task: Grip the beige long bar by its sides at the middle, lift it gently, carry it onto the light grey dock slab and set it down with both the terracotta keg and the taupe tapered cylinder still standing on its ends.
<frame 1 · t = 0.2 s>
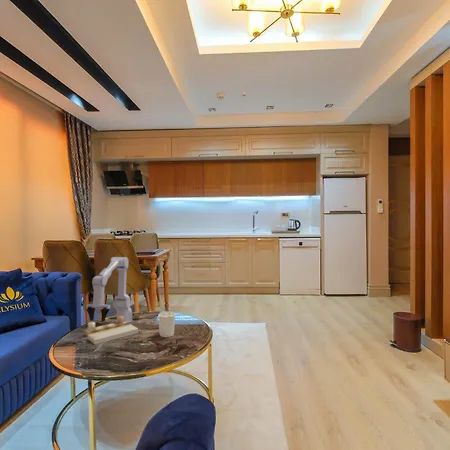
hand: (97, 320, 182), 10 cm above the table, tool pointing down, fingers open, 7 cm apart
candle holder: (166, 334, 188), on the table
taupe tapered cylinder: (91, 329, 189), point 3 cm above the table, touching beige long bar
beige long bar: (106, 331, 195), on the table, touching taupe tapered cylinder, terracotta keg
dock: (113, 335, 187), on the table
terracotta keg: (120, 322, 201), point 3 cm above the table, touching beige long bar
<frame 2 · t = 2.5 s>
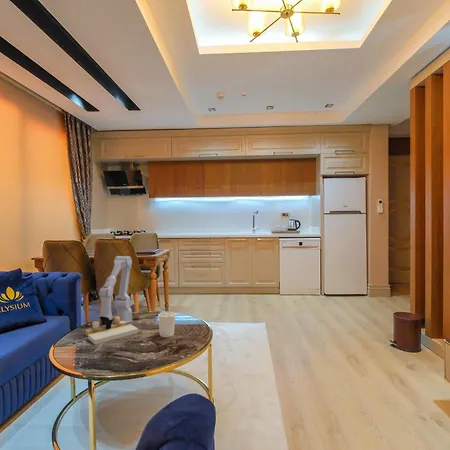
hand: (106, 328, 195), 1 cm above the table, tool pointing down, fingers closed on beige long bar, 5 cm apart
taupe tapered cylinder: (96, 328, 191), point 3 cm above the table, touching beige long bar
beige long bar: (106, 331, 195), on the table, touching taupe tapered cylinder, gripper, terracotta keg
terracotta keg: (116, 323, 199), point 3 cm above the table, touching beige long bar
everything else where it was.
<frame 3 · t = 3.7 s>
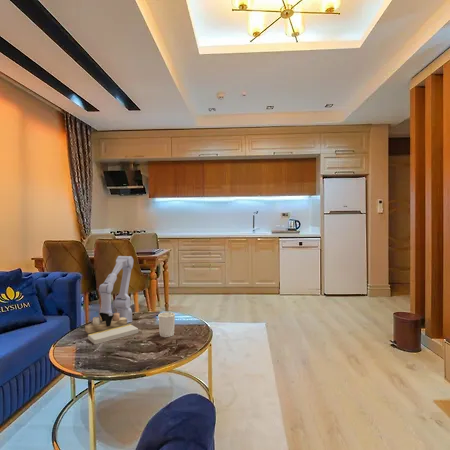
hand: (106, 324, 195), 4 cm above the table, tool pointing down, fingers closed on beige long bar, 5 cm apart
taupe tapered cylinder: (96, 324, 191), point 6 cm above the table, touching beige long bar
beige long bar: (106, 327, 195), point 2 cm above the table, touching taupe tapered cylinder, gripper, terracotta keg
terracotta keg: (116, 319, 199), point 5 cm above the table, touching beige long bar
everything else where it was.
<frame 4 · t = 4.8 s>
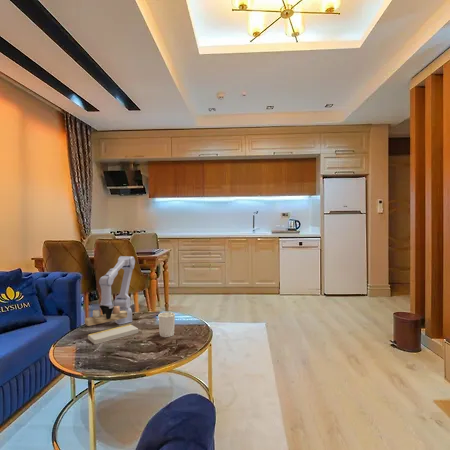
hand: (106, 317, 194), 8 cm above the table, tool pointing down, fingers closed on beige long bar, 5 cm apart
taupe tapered cylinder: (96, 317, 190), point 10 cm above the table, touching beige long bar
beige long bar: (106, 320, 194), point 7 cm above the table, touching taupe tapered cylinder, gripper, terracotta keg
terracotta keg: (116, 312, 198), point 10 cm above the table, touching beige long bar
everything else where it was.
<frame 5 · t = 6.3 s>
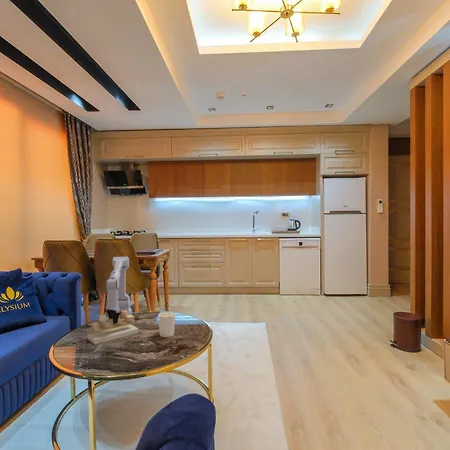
hand: (113, 322, 187), 8 cm above the table, tool pointing down, fingers closed on beige long bar, 5 cm apart
taupe tapered cylinder: (103, 322, 183), point 10 cm above the table, touching beige long bar
beige long bar: (113, 325, 187), point 6 cm above the table, touching taupe tapered cylinder, gripper, terracotta keg
terracotta keg: (123, 317, 191), point 10 cm above the table, touching beige long bar
everything else where it was.
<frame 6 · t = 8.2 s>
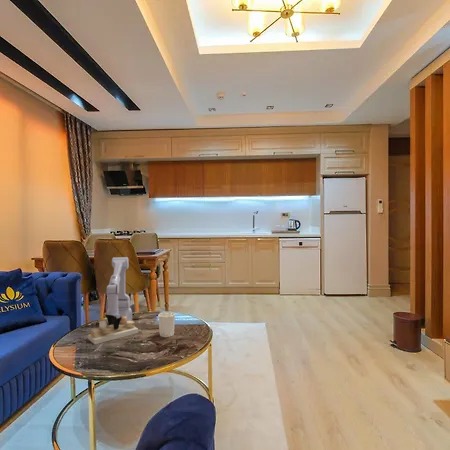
hand: (113, 327, 187), 5 cm above the table, tool pointing down, fingers open, 7 cm apart
taupe tapered cylinder: (103, 328, 183), point 6 cm above the table, touching beige long bar
beige long bar: (113, 331, 187), point 2 cm above the table, touching taupe tapered cylinder, dock, terracotta keg
terracotta keg: (123, 323, 191), point 6 cm above the table, touching beige long bar
everything else where it was.
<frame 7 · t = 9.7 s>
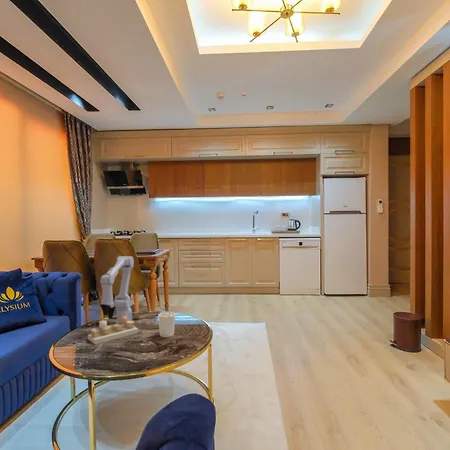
hand: (108, 316, 193), 9 cm above the table, tool pointing down, fingers open, 7 cm apart
nothing on the table moved.
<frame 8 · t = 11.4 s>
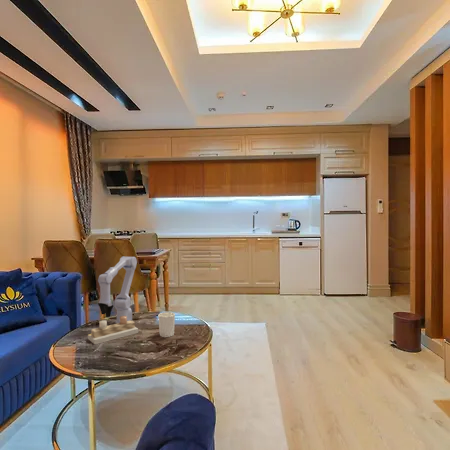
hand: (105, 315, 196), 9 cm above the table, tool pointing down, fingers open, 7 cm apart
nothing on the table moved.
at the end: beige long bar inside the target area on the dock (0.1 cm from its centre), point 2.5 cm above the dock's base; terracotta keg point 6.0 cm above the table; taupe tapered cylinder point 6.0 cm above the table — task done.
